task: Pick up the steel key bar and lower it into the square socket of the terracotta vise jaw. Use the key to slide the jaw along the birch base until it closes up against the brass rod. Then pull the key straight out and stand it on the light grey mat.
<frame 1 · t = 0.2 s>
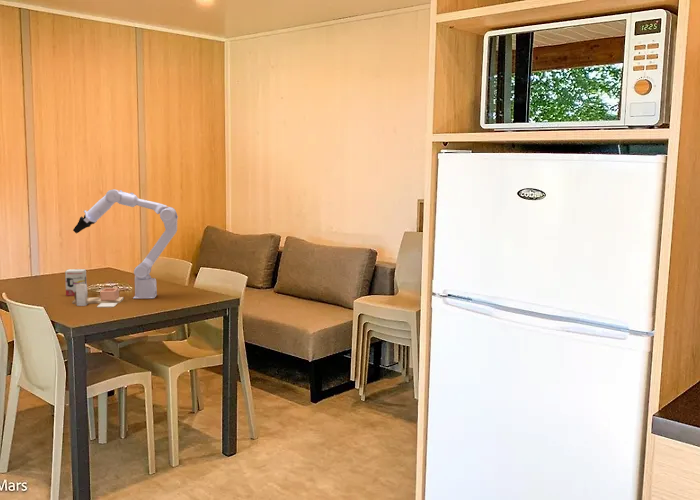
hand: (76, 230, 296), 31 cm above the table, tool tilted 45°, fingers open, 7 cm apart
birch vise base: (98, 301, 294), on the table
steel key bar: (82, 305, 287), on the table
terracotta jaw: (109, 294, 294), point 3 cm above the table, slide at 0.0 cm
ink box: (76, 295, 308), on the table
grey mat: (107, 305, 286), on the table
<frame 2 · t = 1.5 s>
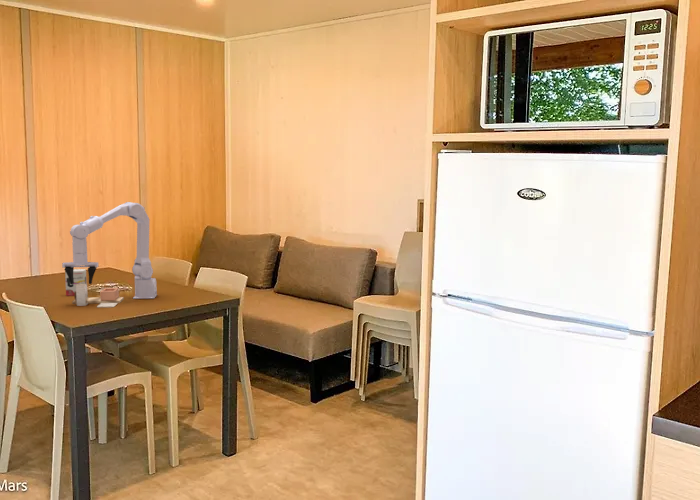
hand: (81, 283, 285), 9 cm above the table, tool pointing down, fingers open, 7 cm apart
nothing on the table moved.
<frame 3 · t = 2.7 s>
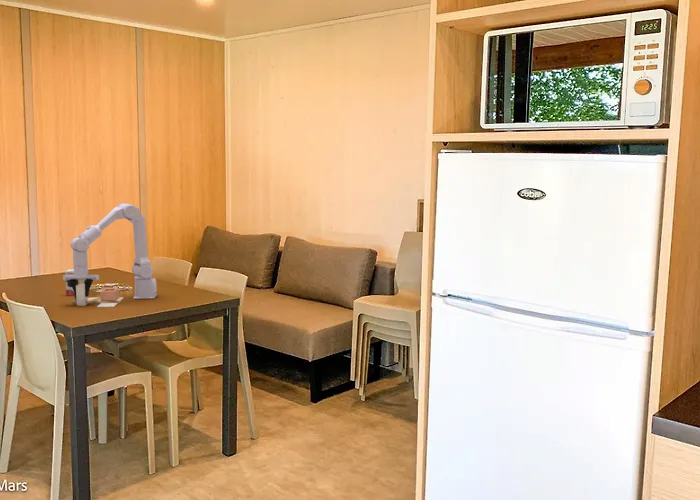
hand: (81, 296, 286), 4 cm above the table, tool pointing down, fingers closed on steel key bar, 4 cm apart
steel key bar: (82, 304, 287), on the table, touching gripper
everything else where it was.
when the fingers open (5 cm above the table, at t = 11.3 s): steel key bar stays where it is, resting on grey mat.
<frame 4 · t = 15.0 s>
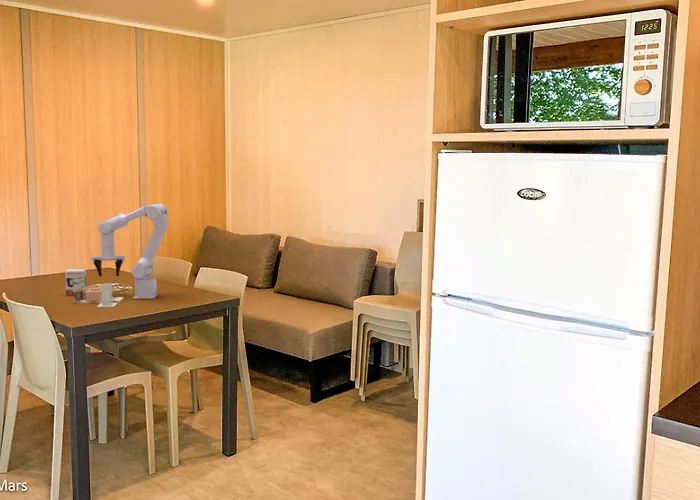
hand: (108, 276, 305), 9 cm above the table, tool pointing down, fingers open, 7 cm apart
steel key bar: (107, 304, 286), resting on grey mat
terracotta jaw: (95, 294, 293), point 3 cm above the table, slide at 6.3 cm
everything else where it was.
at the end: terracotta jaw slide at 6.3 cm; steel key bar inside the target area (0.0 cm from its centre), resting on grey mat; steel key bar tilted 0° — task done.
